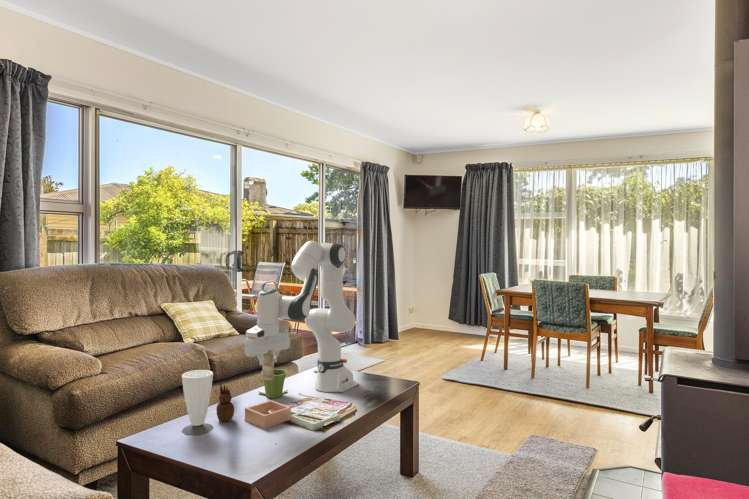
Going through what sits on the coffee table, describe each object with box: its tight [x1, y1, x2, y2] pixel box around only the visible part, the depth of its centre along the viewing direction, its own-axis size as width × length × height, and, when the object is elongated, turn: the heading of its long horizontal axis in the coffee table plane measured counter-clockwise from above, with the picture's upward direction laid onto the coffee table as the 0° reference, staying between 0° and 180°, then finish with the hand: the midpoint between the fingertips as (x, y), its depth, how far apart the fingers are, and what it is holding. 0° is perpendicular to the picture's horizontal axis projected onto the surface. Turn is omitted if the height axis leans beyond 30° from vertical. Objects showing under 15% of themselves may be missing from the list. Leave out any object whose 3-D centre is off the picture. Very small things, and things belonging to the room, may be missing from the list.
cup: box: [181, 369, 214, 436], centre depth 191 cm, size 12×12×22 cm
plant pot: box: [260, 368, 288, 399], centre depth 231 cm, size 12×12×11 cm
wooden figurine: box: [216, 383, 235, 423], centre depth 200 cm, size 7×6×15 cm
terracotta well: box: [244, 399, 292, 429], centre depth 201 cm, size 13×13×5 cm
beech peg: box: [262, 349, 275, 381], centre depth 201 cm, size 4×4×12 cm
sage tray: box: [289, 406, 341, 431], centre depth 201 cm, size 14×14×2 cm
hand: (268, 363), depth 201 cm, fingers closed on beech peg, 4 cm apart
